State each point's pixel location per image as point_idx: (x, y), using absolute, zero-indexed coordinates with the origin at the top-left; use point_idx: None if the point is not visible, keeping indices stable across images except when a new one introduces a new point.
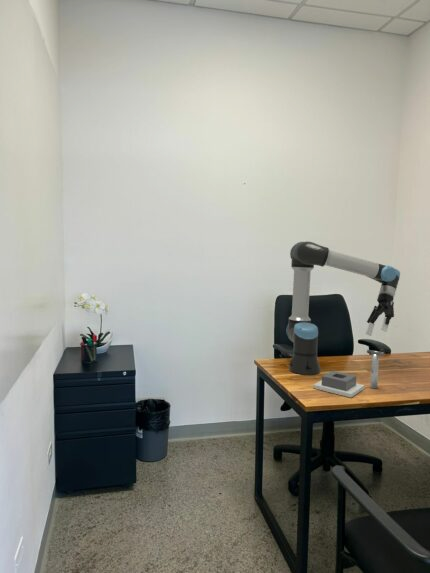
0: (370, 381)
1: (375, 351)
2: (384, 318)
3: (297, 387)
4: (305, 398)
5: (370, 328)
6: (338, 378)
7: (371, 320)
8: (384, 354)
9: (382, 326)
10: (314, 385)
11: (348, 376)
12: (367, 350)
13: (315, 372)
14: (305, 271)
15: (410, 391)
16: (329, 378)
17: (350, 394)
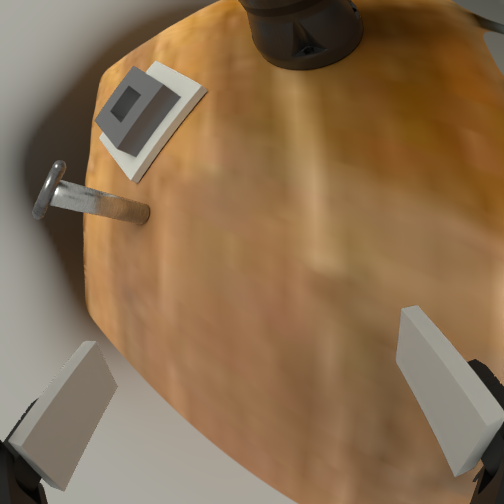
0: (132, 200)
1: (42, 188)
2: (21, 434)
3: (173, 38)
4: (124, 63)
5: (434, 388)
6: (112, 102)
7: (499, 474)
8: (37, 218)
9: (71, 361)
10: (153, 64)
11: (117, 126)
12: (56, 161)
13: (261, 53)
14: None
15: (118, 310)
16: (121, 83)
17: (101, 137)
